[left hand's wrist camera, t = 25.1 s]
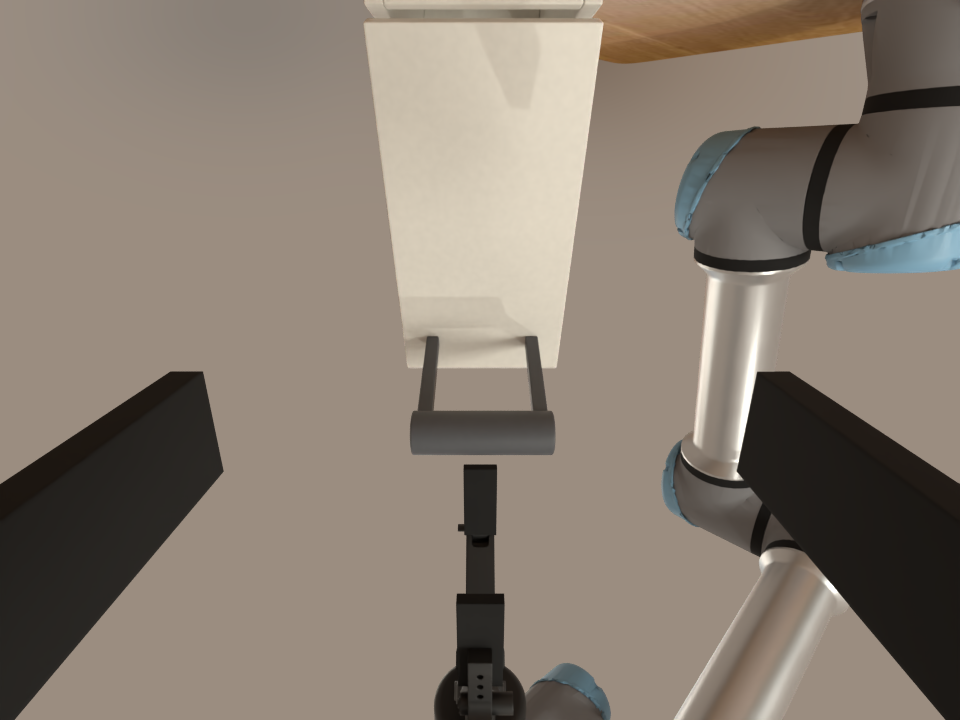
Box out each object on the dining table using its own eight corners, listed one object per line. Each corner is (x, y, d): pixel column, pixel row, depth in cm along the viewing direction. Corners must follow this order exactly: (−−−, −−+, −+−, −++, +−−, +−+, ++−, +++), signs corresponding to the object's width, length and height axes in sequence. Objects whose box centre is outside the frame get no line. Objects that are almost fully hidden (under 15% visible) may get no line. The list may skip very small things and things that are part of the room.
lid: (555, 358, 31) (574, 478, 25) (409, 358, 31) (390, 478, 25) (599, 17, 20) (658, 76, 13) (366, 17, 20) (310, 76, 13)
